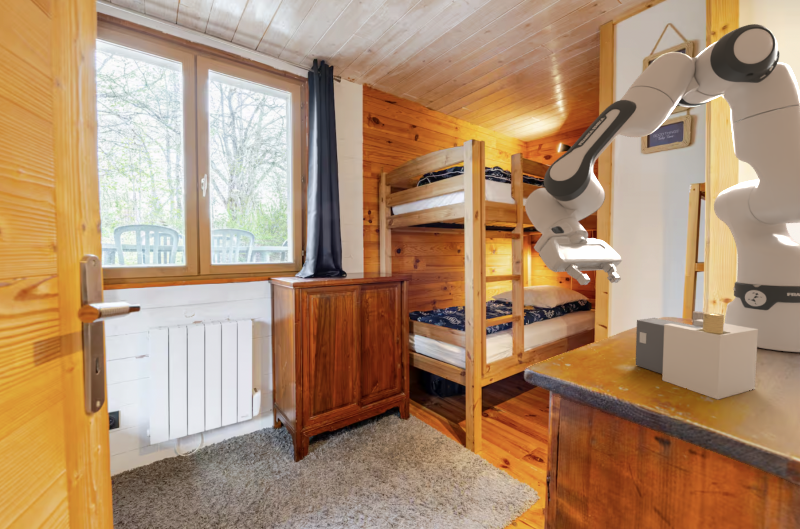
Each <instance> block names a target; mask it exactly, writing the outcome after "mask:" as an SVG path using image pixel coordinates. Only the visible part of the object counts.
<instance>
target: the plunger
mask: <svg viewBox="0 0 800 529" xmlns="http://www.w3.org/2000/svg"><path fill="white" fill-rule="evenodd" d="M724 322H725V315H724V314H720V313H716V312H715V313H714V312H704V314H703V332H707V333H712V334H717V335H721V334H723V324H724Z"/></svg>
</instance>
